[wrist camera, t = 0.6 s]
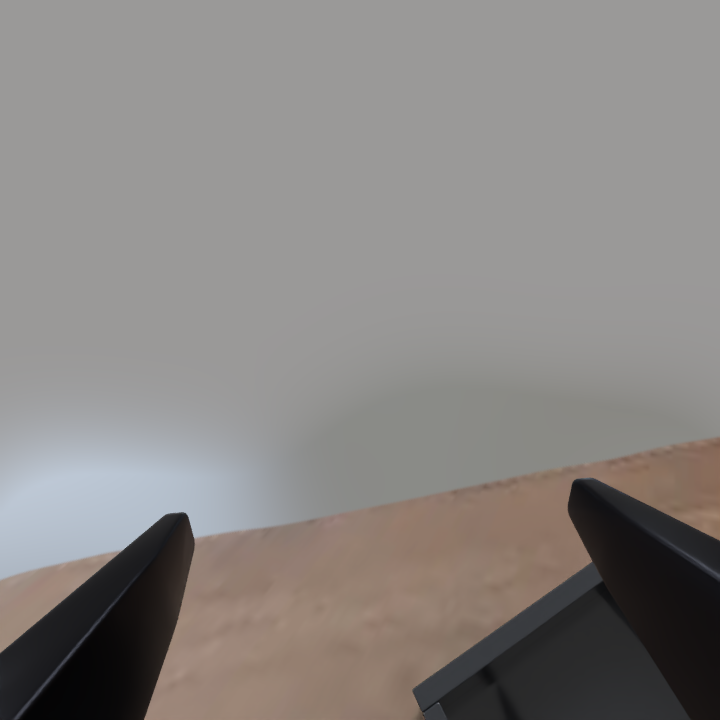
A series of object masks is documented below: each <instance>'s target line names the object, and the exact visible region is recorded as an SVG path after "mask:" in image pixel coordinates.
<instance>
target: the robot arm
mask: <svg viewBox="0 0 720 720" xmlns="http://www.w3.org/2000/svg"><path fill="white" fill-rule="evenodd" d="M568 513H569V516H570V518H571V520H572V522H573V524H574V526H575V528H576V530H577V532H578V534H579V536H580V538H581V540H582V542H583V544H584V546H585V548H586V549H587V551H588V553H589V555H590V557H591V559H592V561H593V563H594V565H595V567H596V569H597V571H598V573H599V574H600V576H601V578H602V580H603V582H604V583H605V585H606V587H607V588H608V590H609V591H610V593H611V595H612V596H613V598H614V599H615V601H616V603H617V604H618V606H619V607H620V609H621V610H622V612H623V614H624V615H625V617H626V618H627V620H628V622H629V623H630V625H631V626H632V628H633V629H634V631H635V633H636V634H637V636H638V637H639V639H640V640H641V642H642V644H643V645H644V647H645V648H646V650H647V652H648V653H649V655H650V656H651V658H652V659H653V661H654V663H655V664H656V666H657V667H658V669H659V670H660V672H661V674H662V675H663V677H664V678H665V680H666V682H667V683H668V685H669V686H670V688H671V689H672V691H673V693H674V694H675V696H676V697H677V699H678V701H679V702H680V704H681V705H682V707H683V708H684V710H685V712H686V713H687V715H688V716H689V718H690V719H691V720H720V541H719V540H717V539H715V538H713V537H711V536H709V535H707V534H705V533H703V532H701V531H699V530H697V529H695V528H693V527H691V526H689V525H687V524H685V523H683V522H681V521H679V520H677V519H675V518H673V517H671V516H669V515H667V514H665V513H663V512H661V511H659V510H657V509H655V508H653V507H651V506H649V505H647V504H645V503H643V502H640V501H638V500H636V499H634V498H632V497H630V496H628V495H626V494H624V493H622V492H620V491H618V490H616V489H614V488H612V487H610V486H608V485H606V484H604V483H602V482H600V481H598V480H596V479H594V478H581V479H576V480H574V481H573V483H572V487H571V492H570V497H569V502H568ZM194 544H195V543H194V537H193V533H192V529H191V525H190V522H189V518H188V516H187V514H186V513H183V512H181V513H170V514H166V515H165V516H163V517H162V518H161V519H160V520H159V521H157V522H156V523H155V524H154V525H153V526H151V527H150V528H149V529H148V530H147V531H145V532H144V533H143V534H142V535H141V536H139V537H138V538H137V539H136V540H135V541H133V542H132V543H131V544H130V545H129V546H127V547H126V548H125V549H124V550H123V551H121V552H120V553H119V554H118V555H117V556H116V557H114V558H113V559H112V560H111V561H110V562H108V563H107V564H106V565H105V566H104V567H102V568H101V569H100V570H99V571H98V572H96V573H95V574H94V575H93V576H92V577H90V578H89V579H88V580H87V581H86V582H85V583H83V584H82V585H81V586H80V587H79V588H77V589H76V590H75V591H74V592H73V593H71V594H70V595H69V596H68V597H67V598H65V599H64V600H63V601H62V602H61V603H59V604H58V605H57V606H56V607H55V608H54V609H52V610H51V611H50V612H49V613H48V614H46V615H45V616H44V617H43V618H42V619H40V620H39V621H38V622H37V623H36V624H34V625H33V626H32V627H31V628H30V629H29V630H27V631H26V632H25V633H24V634H23V635H21V636H20V637H19V638H18V639H17V640H15V641H14V642H13V643H12V644H11V645H9V646H8V647H7V648H6V649H5V650H3V651H2V652H1V653H0V720H144V718H145V715H146V712H147V709H148V706H149V703H150V701H151V698H152V695H153V692H154V689H155V686H156V683H157V680H158V677H159V674H160V671H161V668H162V665H163V662H164V660H165V657H166V654H167V651H168V648H169V645H170V642H171V639H172V636H173V633H174V630H175V627H176V624H177V620H178V616H179V612H180V608H181V604H182V599H183V595H184V591H185V587H186V582H187V578H188V574H189V570H190V565H191V561H192V557H193V553H194Z"/></svg>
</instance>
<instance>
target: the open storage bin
mask: <svg viewBox="0 0 720 720" xmlns="http://www.w3.org/2000/svg"><path fill="white" fill-rule="evenodd" d="M412 691H413V693H414V696H415V698H416V700H417V702H418V705H419V707H420V709H421V711H422V712H423V716H424V718H425V720H691V719H690V718H689V716H688V715H687V713H686V712H685V710H684V708H683V707H682V705H681V704H680V702H679V701H678V699H677V697H676V696H675V694H674V693H673V691H672V689H671V688H670V686H669V685H668V683H667V682H666V680H665V678H664V677H663V675H662V674H661V672H660V670H659V669H658V667H657V666H656V664H655V663H654V661H653V659H652V658H651V656H650V655H649V653H648V652H647V650H646V648H645V647H644V645H643V644H642V642H641V640H640V639H639V637H638V636H637V634H636V633H635V631H634V629H633V628H632V626H631V625H630V623H629V622H628V620H627V618H626V617H625V615H624V614H623V612H622V610H621V609H620V607H619V606H618V604H617V603H616V601H615V599H614V598H613V596H612V595H611V593H610V591H609V590H608V588H607V587H606V585H605V583H604V582H603V580H602V578H601V576H600V574H599V573H598V571H597V569H596V567H595V565H594V563H593V562H591V563H590V564H589V565H587V566H586V567H584V568H583V569H582V570H580V571H579V572H577V573H576V574H574V575H573V576H572V577H570V578H569V579H567V580H566V581H565V582H563V583H562V584H560V585H559V586H558V587H556V588H555V589H553V590H552V591H550V592H549V593H548V594H546V595H545V596H543V597H542V598H541V599H539V600H538V601H536V602H535V603H534V604H532V605H531V606H529V607H528V608H526V609H525V610H524V611H522V612H521V613H519V614H518V615H517V616H515V617H514V618H512V619H511V620H509V621H508V622H507V623H505V624H504V625H502V626H501V627H500V628H498V629H497V630H495V631H494V632H493V633H491V634H490V635H488V636H487V637H485V638H484V639H483V640H481V641H480V642H478V643H477V644H476V645H474V646H473V647H471V648H470V649H469V650H467V651H466V652H464V653H463V654H461V655H460V656H459V657H457V658H456V659H454V660H453V661H452V662H450V663H449V664H447V665H446V666H445V667H443V668H442V669H440V670H439V671H437V672H436V673H435V674H433V675H432V676H430V677H429V678H428V679H426V680H425V681H423V682H422V683H421V684H419V685H418V686H416V687H415V688H413V690H412Z"/></svg>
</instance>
